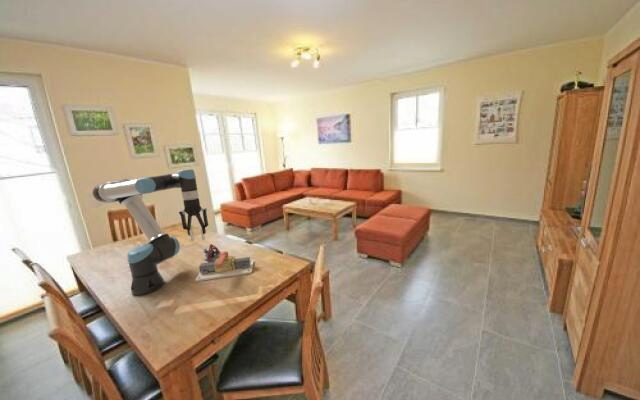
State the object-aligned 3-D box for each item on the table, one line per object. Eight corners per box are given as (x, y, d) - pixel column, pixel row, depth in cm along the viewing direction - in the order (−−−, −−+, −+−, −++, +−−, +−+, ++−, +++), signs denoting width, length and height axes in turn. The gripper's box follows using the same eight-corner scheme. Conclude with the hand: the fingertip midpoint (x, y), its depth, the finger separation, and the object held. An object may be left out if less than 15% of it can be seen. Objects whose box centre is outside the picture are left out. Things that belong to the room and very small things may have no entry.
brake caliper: (217, 259, 156) (204, 246, 156) (208, 270, 159) (194, 257, 159) (227, 252, 167) (214, 239, 166) (218, 261, 170) (205, 249, 170)
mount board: (195, 281, 138) (195, 279, 138) (203, 268, 153) (203, 266, 153) (251, 273, 143) (251, 271, 143) (253, 261, 158) (253, 259, 158)
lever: (221, 255, 148) (220, 251, 148) (229, 254, 149) (228, 250, 148) (214, 268, 131) (213, 264, 131) (223, 267, 132) (222, 263, 132)
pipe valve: (200, 277, 143) (197, 263, 141) (203, 271, 149) (201, 258, 148) (250, 270, 147) (248, 256, 145) (251, 265, 154) (249, 252, 152)
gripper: (169, 201, 127) (178, 244, 132) (207, 198, 130) (213, 240, 135) (175, 199, 134) (183, 239, 139) (210, 195, 137) (216, 235, 142)
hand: (198, 240), depth 137 cm, fingers open, 5 cm apart
